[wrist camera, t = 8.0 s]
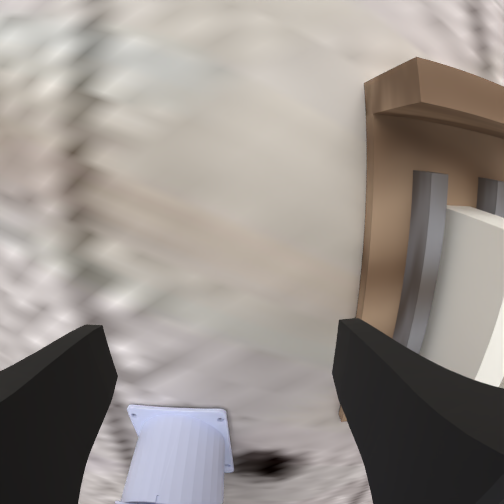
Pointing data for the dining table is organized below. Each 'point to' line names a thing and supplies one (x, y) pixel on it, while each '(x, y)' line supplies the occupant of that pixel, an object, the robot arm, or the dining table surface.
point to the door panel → (469, 297)
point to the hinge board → (422, 184)
